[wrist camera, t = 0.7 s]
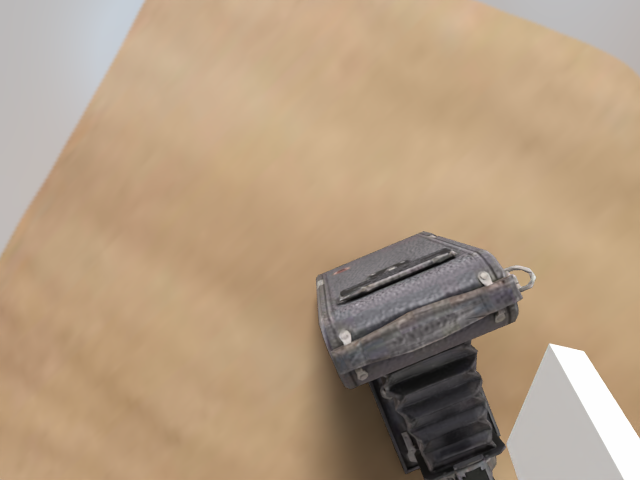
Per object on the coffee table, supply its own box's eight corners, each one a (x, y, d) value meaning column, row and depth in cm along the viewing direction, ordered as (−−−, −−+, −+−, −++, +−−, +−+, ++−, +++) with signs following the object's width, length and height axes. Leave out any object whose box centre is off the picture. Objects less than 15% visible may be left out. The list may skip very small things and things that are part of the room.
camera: (380, 456, 48) (437, 644, 28) (308, 262, 47) (313, 317, 27) (507, 408, 48) (652, 563, 28) (438, 213, 47) (541, 232, 27)
